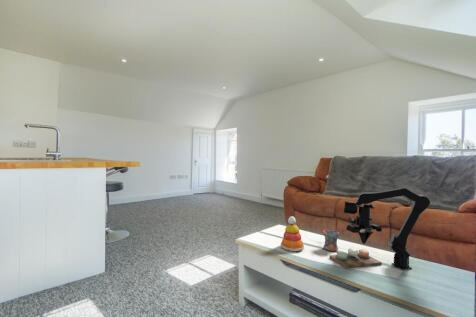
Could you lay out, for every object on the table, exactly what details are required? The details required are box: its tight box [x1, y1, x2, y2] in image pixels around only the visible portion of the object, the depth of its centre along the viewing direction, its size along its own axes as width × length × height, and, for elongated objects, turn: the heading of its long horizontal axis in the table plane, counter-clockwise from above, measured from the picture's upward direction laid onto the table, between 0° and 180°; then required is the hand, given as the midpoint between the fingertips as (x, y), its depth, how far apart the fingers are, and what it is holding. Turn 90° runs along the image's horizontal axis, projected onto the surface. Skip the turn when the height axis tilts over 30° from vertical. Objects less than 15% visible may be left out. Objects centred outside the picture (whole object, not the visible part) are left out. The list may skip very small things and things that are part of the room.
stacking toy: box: [280, 215, 305, 252], centre depth 144 cm, size 14×14×20 cm
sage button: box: [336, 250, 348, 259], centre depth 126 cm, size 5×5×2 cm
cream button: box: [347, 247, 359, 256], centre depth 128 cm, size 5×5×2 cm
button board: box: [329, 252, 383, 270], centre depth 127 cm, size 22×13×2 cm, turn 104°
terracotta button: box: [358, 249, 370, 258], centre depth 130 cm, size 5×5×2 cm
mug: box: [322, 229, 340, 252], centre depth 145 cm, size 12×9×11 cm
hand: (363, 243), depth 130 cm, fingers closed
